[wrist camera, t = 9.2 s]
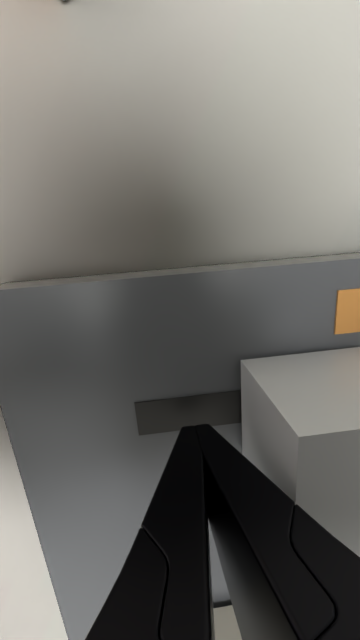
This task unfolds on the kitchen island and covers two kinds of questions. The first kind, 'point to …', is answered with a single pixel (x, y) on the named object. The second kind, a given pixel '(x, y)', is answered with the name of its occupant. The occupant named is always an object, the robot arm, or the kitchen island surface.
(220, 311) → the switch panel
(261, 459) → the light gray cube
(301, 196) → the kitchen island surface
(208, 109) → the kitchen island surface
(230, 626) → the cream cube
